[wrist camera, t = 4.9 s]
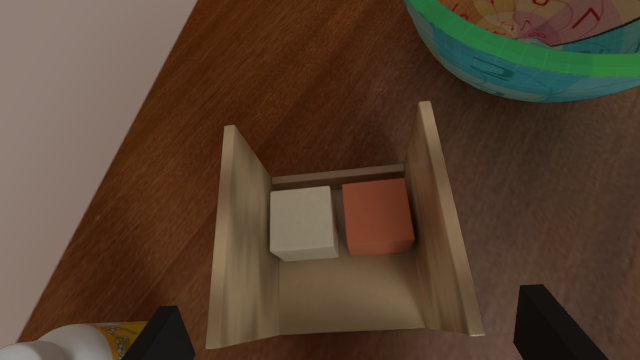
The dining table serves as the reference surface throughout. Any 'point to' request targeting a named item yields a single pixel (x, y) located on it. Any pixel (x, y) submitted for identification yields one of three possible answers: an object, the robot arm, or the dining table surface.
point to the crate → (345, 271)
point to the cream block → (303, 224)
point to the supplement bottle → (78, 343)
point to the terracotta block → (377, 217)
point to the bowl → (534, 45)
